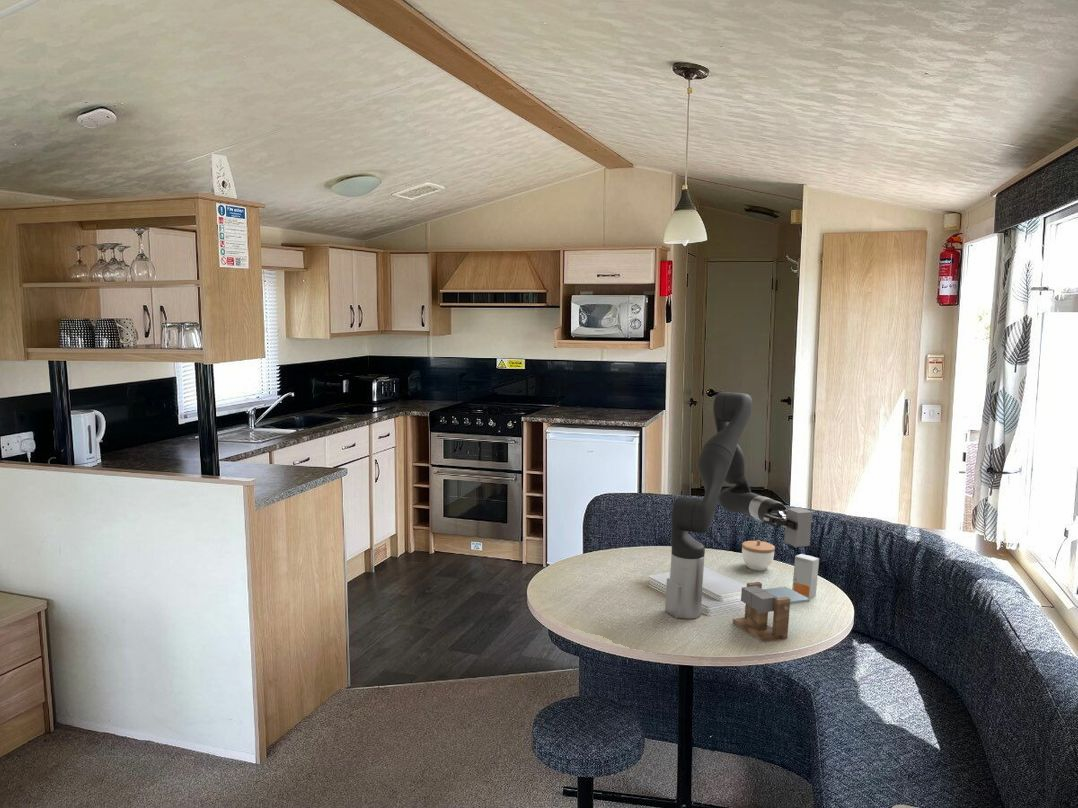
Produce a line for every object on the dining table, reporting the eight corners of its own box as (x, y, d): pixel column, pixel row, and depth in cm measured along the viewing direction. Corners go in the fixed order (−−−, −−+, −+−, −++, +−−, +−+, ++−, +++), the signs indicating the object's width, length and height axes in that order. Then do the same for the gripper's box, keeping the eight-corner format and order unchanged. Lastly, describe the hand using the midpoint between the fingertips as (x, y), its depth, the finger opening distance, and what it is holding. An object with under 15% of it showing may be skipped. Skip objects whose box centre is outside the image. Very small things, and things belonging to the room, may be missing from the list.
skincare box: (791, 593, 251) (794, 555, 250) (798, 590, 254) (801, 553, 253) (809, 599, 247) (813, 560, 245) (816, 595, 250) (819, 558, 248)
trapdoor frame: (790, 640, 216) (793, 600, 214) (766, 643, 213) (769, 603, 211) (753, 618, 230) (756, 580, 229) (730, 621, 227) (732, 583, 226)
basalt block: (795, 547, 233) (798, 513, 232) (784, 541, 238) (787, 508, 236) (809, 545, 235) (812, 512, 234) (797, 540, 240) (800, 507, 238)
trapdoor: (809, 607, 220) (810, 593, 220) (762, 613, 215) (763, 599, 214) (784, 594, 230) (785, 581, 229) (739, 600, 224) (740, 586, 223)
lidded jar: (774, 574, 269) (776, 546, 268) (741, 570, 271) (743, 543, 270) (772, 564, 279) (774, 537, 278) (739, 561, 281) (741, 534, 280)
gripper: (748, 499, 245) (785, 515, 230) (787, 497, 251) (826, 511, 235) (746, 524, 246) (783, 540, 231) (785, 520, 252) (823, 537, 236)
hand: (804, 526), depth 233 cm, fingers closed on basalt block, 5 cm apart
